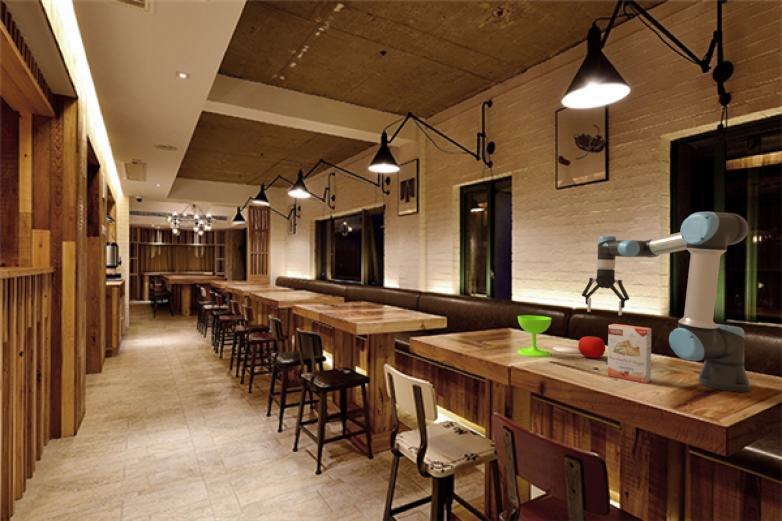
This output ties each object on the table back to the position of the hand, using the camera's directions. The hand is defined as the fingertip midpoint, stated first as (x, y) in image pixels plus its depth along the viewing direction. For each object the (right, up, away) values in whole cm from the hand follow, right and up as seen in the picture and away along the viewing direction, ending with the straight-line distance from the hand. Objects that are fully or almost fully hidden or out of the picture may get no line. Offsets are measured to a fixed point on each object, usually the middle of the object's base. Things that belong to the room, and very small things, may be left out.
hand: (604, 313), depth 196 cm
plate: (-9, -22, +18) cm, 30 cm away
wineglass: (-30, -22, +10) cm, 38 cm away
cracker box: (-7, -22, -33) cm, 40 cm away
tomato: (-5, -22, +3) cm, 23 cm away
